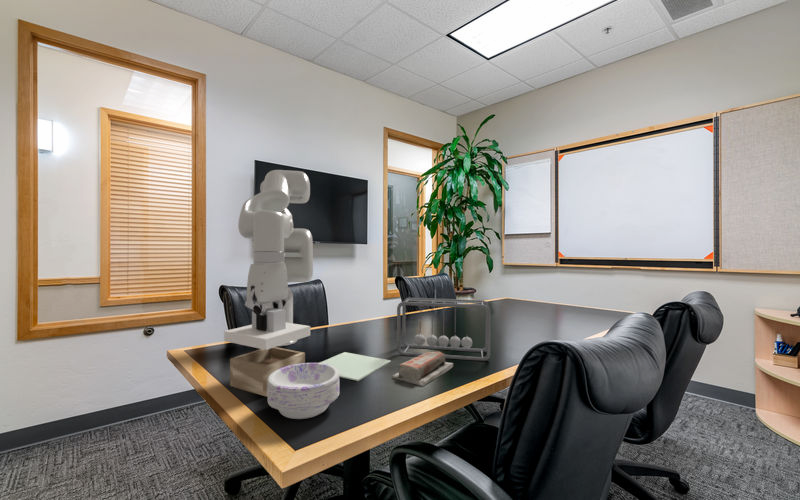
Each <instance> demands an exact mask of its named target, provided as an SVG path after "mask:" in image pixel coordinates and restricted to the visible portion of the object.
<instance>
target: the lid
mask: <svg viewBox="0 0 800 500" xmlns="http://www.w3.org/2000/svg"><path fill="white" fill-rule="evenodd" d="M264 315H267V330H266V331H262V330H257V329H256V314H254V312H253V311H252V310H251V324H249V325H244V326H241V327H240V326H239V327H237V328H232V329H227V330H224V333H223V335H224V337H223V338H224V342H227V343H231V344H237V345H241V346H246V347H251V348H256V349H258V350H260V349H264V350H267V349H270V348H273V347H280V346H279V345H283V344H286V343H289V342H292V341H295V340H297V341H298V340H301V339H305V338H306V337H310V336H311V326H310V325H305V324H298V323H294V322H293V323H287V322H286V310H283V309H276V308H268V307H266V310H265V314H264Z"/></svg>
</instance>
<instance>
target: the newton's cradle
mask: <svg viewBox="0 0 800 500" xmlns="http://www.w3.org/2000/svg"><path fill="white" fill-rule="evenodd" d="M406 306H417V307H420V316H422V314H423V313H422V312H423V307H431V310H433V307H442V316H443V317H442V329H443V330H442V332H443V334H442V335H441V336H439V337H437V336H436V335H434V334H433V331H434V330H433V327H434V318H431V334H430V335H429V336H427V337H425V336H424V334H421V333H419V334H416V335H415V336H414V340H413V341H414V343H415V344H409V343H407V342H406V314H407V313H406V309H407V308H406ZM396 308H397V309H396V351H397V353H398V354H399V355H401V356H405V357H418V356H420V355H422V354H424V353H425V352H424V353H421V352H411V351H410V352H409V351H408V349H410V348H411V349H422V350H423V349H425V350H438V351H439V350H440V351H441V350H442V351H454V352H455V351H457V352H458V351H459V352H472V353H473V352H475V353H481V356H472V355H471V356H468V355H455V354H452V355H451V354H445V359H447V360H449V359H450V360H464V361H465V360H466V361H477V362H479V361H480V362H481V361H482V362H486V361H487V360H489V359H490V357H491V337H492V336H491V327H492V326H491V321H492V320H491V319H492V318H491V317H492V316H491V315H492V314H491V313H492V312H491V308H490V306H489V303H488V302H487V301H485V300H483V299H459V298H458V299H457V298H455V299H454V298H429V297H427V298H425V297H407V298H404V300H403V301H401V302H399V303H398V305H397V307H396ZM401 308H402V309H401ZM445 308H454V332H456V323H457V320H456V319H457V316H456V315H457V313H456V312H457V311H456V310H457V308H466V309H469V308H470V309H473V308H474V309H484V310H485V343H484V344H485V346H484V348H471V347H473V340H472V338H471V337H469V336H468V335H466V336H464V337H463V338H461V339H460V337H458V336H457V335H454V336H453V335H452V336H451V337H450V339H449V337H447V336H446V335H445ZM401 311H402V313H401ZM401 315H402V316H401ZM401 317H402V319H401ZM401 320H402V321H401ZM401 322H402V323H401ZM401 325H402V327H401ZM421 327H422V323H419V332H422V331H421ZM401 329H402V330H401ZM401 333H402V335H401ZM401 341H402V342H401ZM401 343H402V345H403V346H404V347H405V350H404V351H402V349H401ZM425 343H426V344H427V345H424V344H425ZM437 344H438V346H437ZM448 345H450V346H448ZM460 346H462V347H460ZM407 351H408V352H407ZM485 352H486V355H485V356H484V355H483V354H484V353H485Z"/></svg>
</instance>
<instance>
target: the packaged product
mask: <svg viewBox="0 0 800 500" xmlns="http://www.w3.org/2000/svg"><path fill="white" fill-rule="evenodd" d="M445 355H446V354H445V353H443V352H441V351H439V350H438V351H427V352H424V354H422V355H420V356H415V357H413V358H411V359H410V360H409V359H408V360H407V361H405V362H403V363H400V364H399V367H398V368H399V371H398V372H396V373H394V374H393V375H391V377H392V379H394V380H397V381H401V382H404V383H409V384H413V385H417V386H421V387H424V386H426V385H427V384H429V383H431V382H433V381H434V380H436V379H438V378H439V377H441V376H442V375H444V374H446V373H447V372H448V371H450V370H451V369H452V368H454V362H447V361H446V358H445Z"/></svg>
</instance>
